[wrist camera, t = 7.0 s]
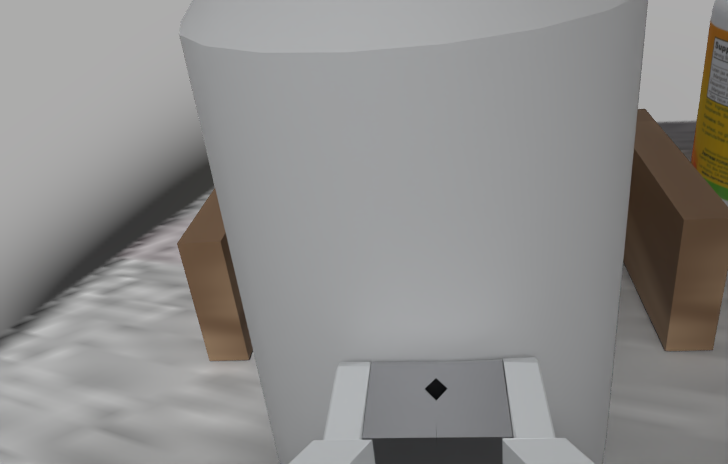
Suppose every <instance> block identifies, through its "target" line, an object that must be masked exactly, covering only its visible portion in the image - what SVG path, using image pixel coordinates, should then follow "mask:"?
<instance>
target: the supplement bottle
mask: <svg viewBox="0 0 728 464" xmlns="http://www.w3.org/2000/svg"><path fill="white" fill-rule="evenodd" d="M691 164H692V165H693V166H694V167H695V168H696V170H697V171H698V172H699V173H700V174H701V175H702V177H703V178H704V179H705V180H706V181H707V183H708V184H709V185H710V186H711V187H712V188H713V190H714V191H715V192H716V193H717V194H718V195H719V197H720V198H721V199H722V200H723V201H724V203H725V204H726V205H727V206H728V0H716V1H715V3H714V6H713V11H712V17H711V21H710V28H709V35H708V43H707V50H706V57H705V65H704V72H703V79H702V86H701V94H700V102H699V109H698V115H697V123H696V130H695V137H694V144H693V152H692V159H691Z"/></svg>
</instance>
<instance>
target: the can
mask: <svg viewBox="0 0 728 464" xmlns="http://www.w3.org/2000/svg"><path fill="white" fill-rule="evenodd" d="M647 6H648V0H193V1H192V3H191V4H190V6H189V8H188V10H187V11H186V13H185V15H184V17H183V19H182V21H181V25H180V34H179V36H180V40H181V44H182V48H183V53H184V57H185V61H186V66H187V70H188V74H189V78H190V83H191V87H192V91H193V95H194V100H195V104H196V108H197V113H198V117H199V121H200V125H201V130H202V133H203V138H204V142H205V147H206V151H207V155H208V159H209V164H210V168H211V172H212V176H213V181H214V185H215V189H216V194H217V198H218V202H219V206H220V211H221V215H222V219H223V224H224V228H225V232H226V236H227V241H228V245H229V249H230V253H231V258H232V262H233V266H234V271H235V275H236V279H237V283H238V288H239V292H240V296H241V300H242V305H243V309H244V313H245V317H246V322H247V326H248V330H249V335H250V339H251V343H252V347H253V352H254V356H255V360H256V364H257V369H258V373H259V377H260V382H261V386H262V390H263V394H264V399H265V403H266V407H267V411H268V416H269V420H270V424H271V429H272V433H273V437H274V441H275V446H276V450H277V454H278V458H279V463H280V464H289V463H290V462H291V461H292V460H293V459H294V458H295V457H296V456H297V455H298V454H299V453H300V452H301V451H302V450H303V449H304V448H305V447H307V446H308V445H309V444H310V443H311V442H312V441H313V440H323V436H324V430H325V425H326V420H327V415H328V409H329V404H330V399H331V394H332V389H333V383H334V378H335V373H336V368H337V367H338V365H339V363H340V362H373V361H465V360H498V359H501V360H502V359H503V358H525V357H536V358H537V360H538V361H539V364H540V369H541V373H542V378H543V382H544V387H545V391H546V396H547V401H548V405H549V410H550V414H551V419H552V423H553V428H554V432H555V437H556V438H567V439H568V440H569V441H570V442H571V443H572V444H574V445H575V446H576V447H577V448H578V449H579V450H580V451H581V452H583V453H584V454H585V455H586V456H587V457H588V458H589V459H590V460H592V461H593V462H594V463H595V464H603V457H604V450H605V444H606V437H607V428H608V418H609V407H610V396H611V386H612V375H613V365H614V354H615V344H616V333H617V322H618V312H619V301H620V291H621V280H622V270H623V259H624V249H625V238H626V227H627V217H628V206H629V196H630V185H631V175H632V164H633V153H634V143H635V132H636V122H637V111H638V100H639V90H640V80H641V79H640V78H641V69H642V58H643V48H644V37H645V27H646V16H647Z"/></svg>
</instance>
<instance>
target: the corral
mask: <svg viewBox="0 0 728 464" xmlns="http://www.w3.org/2000/svg"><path fill="white" fill-rule="evenodd" d="M177 245H178V248H179V252H180V256H181V259H182V263H183V266H184V270H185V274H186V277H187V281H188V284H189V288H190V292H191V295H192V299H193V302H194V306H195V310H196V313H197V317H198V321H199V324H200V328H201V331H202V335H203V339H204V342H205V346H206V349H207V353H208V357H209V360H210V361H223V360H249V359H250V356H251V353H252V351H253V347H252V343H251V339H250V335H249V330H248V326H247V322H246V317H245V313H244V309H243V305H242V300H241V296H240V292H239V288H238V283H237V279H236V275H235V271H234V266H233V262H232V258H231V253H230V249H229V245H228V241H227V236H226V232H225V228H224V224H223V219H222V215H221V211H220V206H219V202H218V198H217V194H216V189H214V190H213V192H212V193H211V194H210V196H209V197H208V199H207V200H206V202H205V203H204V205H203V206H202V208H201V209H200V211H199V212H198V214H197V215H196V217H195V218H194V220H193V221H192V222H191V224H190V225H189V227H188V228H187V230H186V231H185V233H184V234H183V236H182V237H181V239H180V240H179V242H178V243H177ZM623 262H624V264H625V266H626V268H627V270H628V272H629V274H630V277H631V279H632V281H633V283H634V285H635V287H636V289H637V291H638V294H639V296H640V298H641V300H642V302H643V304H644V306H645V308H646V311H647V313H648V315H649V317H650V319H651V321H652V323H653V325H654V328H655V330H656V332H657V334H658V336H659V338H660V340H661V342H662V345H663V347H664V349H665V351H690V350H713V346H714V341H715V335H716V330H717V324H718V319H719V314H720V308H721V303H722V297H723V292H724V287H725V281H726V276H727V270H728V206H727V205H726V204H725V203H724V201H723V200H722V199H721V198H720V197H719V195H718V194H717V193H716V192H715V191H714V190H713V188H712V187H711V186H710V185H709V184H708V183H707V181H706V180H705V179H704V178H703V177H702V175H701V174H700V173H699V172H698V171H697V170H696V168H695V167H694V166H693V165H692V164H691V162H690V161H689V160H688V159H687V158H686V157H685V155H684V154H683V153H682V152H681V151H680V150H679V148H678V147H677V146H676V145H675V144H674V142H673V141H672V140H671V139H670V138H669V137H668V135H667V134H666V133H665V132H664V131H663V130H662V128H661V127H660V126H659V125H658V124H657V122H656V121H655V120H654V119H653V118H652V117H651V115H650V114H649V113H648V112H647V111H646V109H638V111H637V122H636V132H635V143H634V153H633V164H632V175H631V185H630V196H629V206H628V217H627V227H626V238H625V249H624V259H623Z"/></svg>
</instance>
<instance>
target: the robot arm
mask: <svg viewBox="0 0 728 464" xmlns="http://www.w3.org/2000/svg"><path fill="white" fill-rule="evenodd" d="M289 464H595V463H594V462H593V461H592V460H590V459H589V458H588V457H587V456H586V455H585V454H584V453H583V452H581V451H580V450H579V449H578V448H577V447H576V446H575V445H574V444H572V443H571V442H570V441H569V440H568V439H567V438H556V437H555V432H554V428H553V423H552V419H551V414H550V410H549V405H548V401H547V396H546V391H545V387H544V382H543V378H542V373H541V369H540V364H539V361H538V360H537V358H536V357H525V358H503V359H502V360H501V359H498V360H465V361H373V362H340V363H339V365H338V367H337V368H336V373H335V378H334V383H333V389H332V394H331V399H330V404H329V409H328V415H327V420H326V425H325V430H324V436H323V440H313V441H312V442H311V443H310V444H309V445H308V446H307V447H305V448H304V449H303V450H302V451H301V452H300V453H299V454H298V455H297V456H296V457H295V458H294V459H293V460H292V461H291V462H290V463H289Z"/></svg>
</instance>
